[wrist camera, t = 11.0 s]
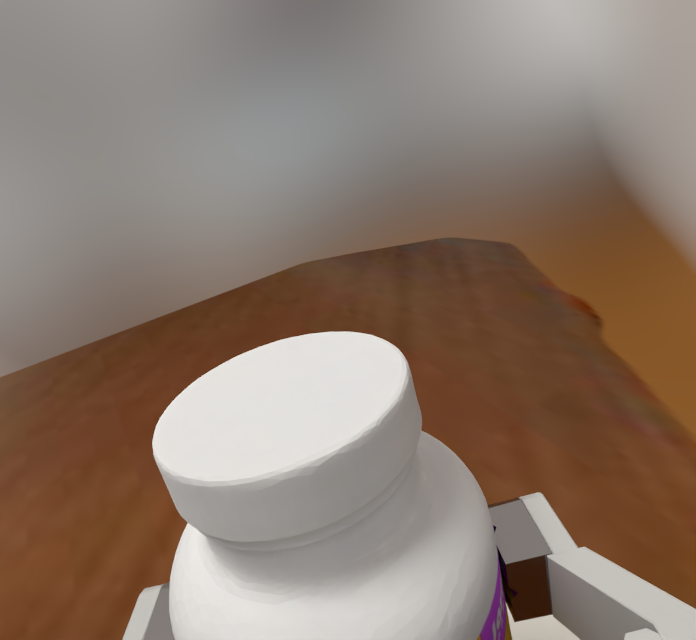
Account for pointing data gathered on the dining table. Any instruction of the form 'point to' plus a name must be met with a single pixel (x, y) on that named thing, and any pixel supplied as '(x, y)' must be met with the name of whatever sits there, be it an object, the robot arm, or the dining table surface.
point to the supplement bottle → (323, 503)
